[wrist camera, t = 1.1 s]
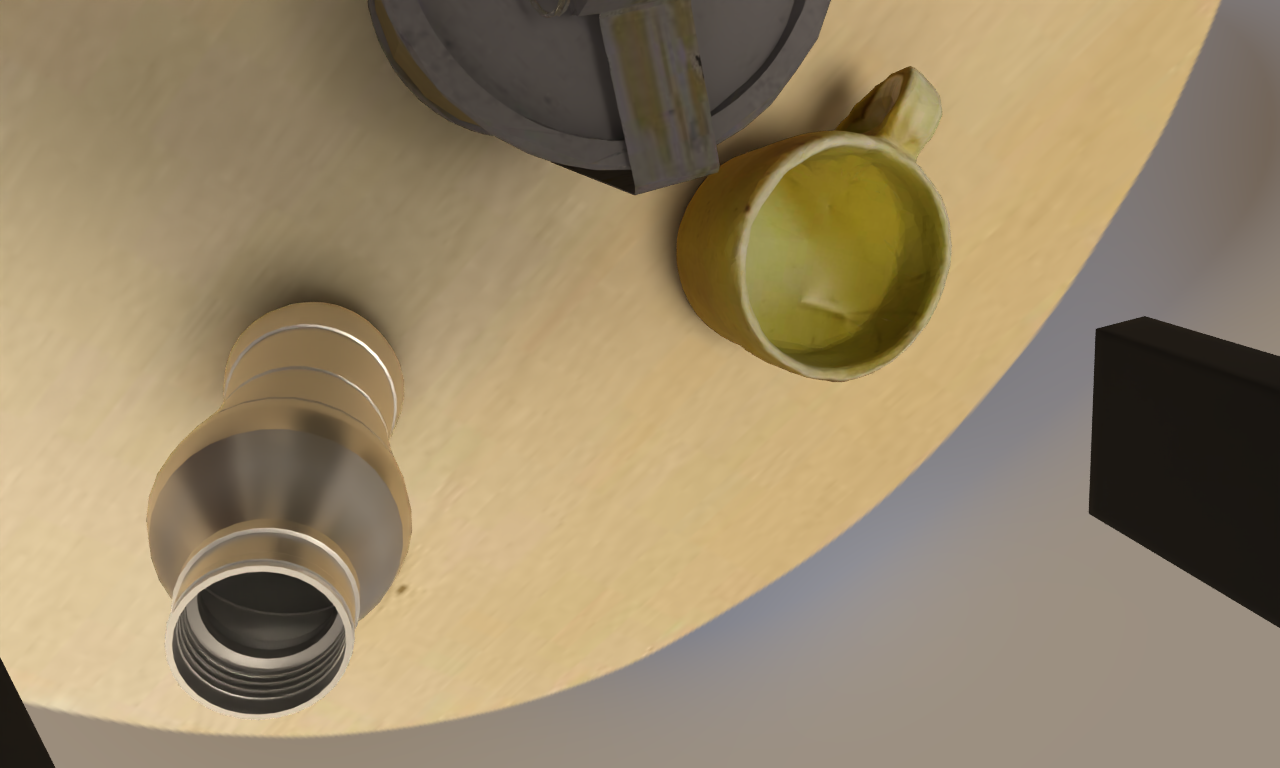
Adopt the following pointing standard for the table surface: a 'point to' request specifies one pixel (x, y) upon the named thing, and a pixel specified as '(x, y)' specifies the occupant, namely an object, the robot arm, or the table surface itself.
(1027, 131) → the table surface
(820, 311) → the mug
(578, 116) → the canister
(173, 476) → the plastic bottle
